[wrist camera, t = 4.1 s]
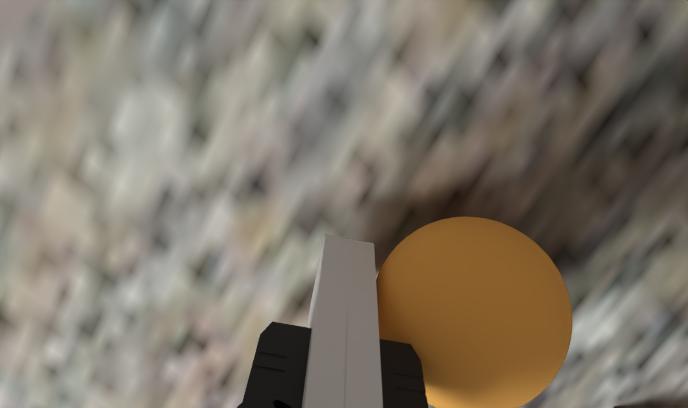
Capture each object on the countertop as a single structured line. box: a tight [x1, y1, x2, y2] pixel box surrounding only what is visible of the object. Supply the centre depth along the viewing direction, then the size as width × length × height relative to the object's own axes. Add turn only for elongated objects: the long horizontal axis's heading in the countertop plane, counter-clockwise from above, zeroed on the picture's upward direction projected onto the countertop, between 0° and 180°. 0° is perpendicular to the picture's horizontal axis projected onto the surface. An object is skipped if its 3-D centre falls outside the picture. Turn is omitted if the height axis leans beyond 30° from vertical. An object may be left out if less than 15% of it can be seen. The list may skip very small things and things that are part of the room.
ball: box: [376, 216, 572, 408], centre depth 14 cm, size 6×6×6 cm
